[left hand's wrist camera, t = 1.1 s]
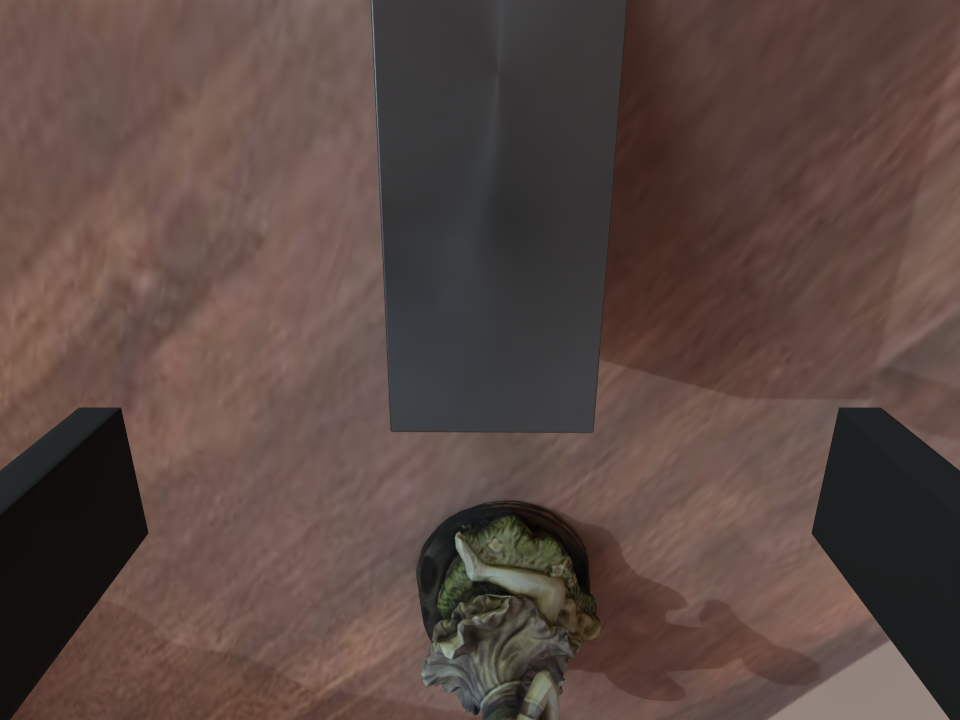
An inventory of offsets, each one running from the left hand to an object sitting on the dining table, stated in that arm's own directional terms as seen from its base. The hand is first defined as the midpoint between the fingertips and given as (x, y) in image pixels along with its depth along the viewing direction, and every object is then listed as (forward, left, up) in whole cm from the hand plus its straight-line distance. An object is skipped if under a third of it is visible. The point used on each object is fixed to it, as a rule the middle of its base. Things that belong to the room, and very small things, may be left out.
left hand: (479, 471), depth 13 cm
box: (+5, +5, -21) cm, 22 cm away
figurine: (-13, -16, -21) cm, 29 cm away
